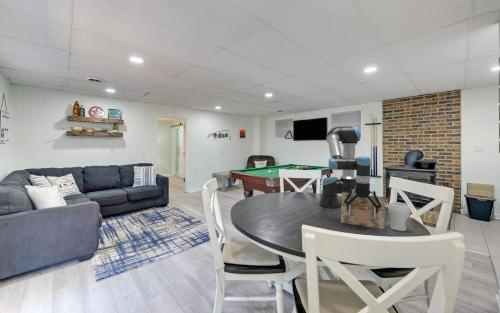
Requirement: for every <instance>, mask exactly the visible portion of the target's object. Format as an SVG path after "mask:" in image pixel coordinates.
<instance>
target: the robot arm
mask: <svg viewBox="0 0 500 313" xmlns="http://www.w3.org/2000/svg"><path fill="white" fill-rule="evenodd" d="M325 138H326V143H327V144H328V149H329V155H330V158H329V159H328V169H329V170H333V171H342V175H341V176H340V178H338V177H336V176H329V177H324V178H323V179H322V183H321V185H322V187H321V190H322V191H321V192H322V193H321V199H320V201H319V205H320V206H321V207H322V208H326V209H338V208H340V202H339V198H338V194H340V195H342V192H344V193H349V194H348V196H347V197H346V199H345V201H344V203H345V204H347V210H349V216H350V205H351V204H350V203H351V202H352V201H353V200H354V199H356V198H357V197H360V198H362V197H363V198H366V197H367V198H368V199H369V200H370V202H371V203H372V204H373V205H374V206H375V207H374V219H375V217H376V213H378V208H381V207H382V206H381V204H380V202H379V200H378V198H377V196H378V195H377V192H376V191H375V190H373V191H371V190H370V189H371V188H370V187H371V183H370V182H371V168H372V166H371V165H372V160H371V157H370V156H357V157H355V156H356V146H357V145H358V142H360V141H361V130H360V128H359V127H358V126H351V125H350V126H335V127H333V128H331V129H330V130H329V131H328V132H327V133H326V136H325ZM340 142H341V143H340ZM341 145H342V147H341ZM341 148H343V149H341ZM355 171H356V172H355ZM355 173H356V174H355ZM352 193H354V194H356V195H355V196H354V197H353V198H352V199H350V200H349V201H348V202H347V200H348V199H349V197H350V196H351V194H352ZM369 195H374V197H375V199H376V201H377V203H378V205H377V204H376V203H375V202H374V201H373V200H372V199H371V197H370V196H369Z"/></svg>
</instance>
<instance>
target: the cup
mask: <svg viewBox="0 0 500 313" xmlns="http://www.w3.org/2000/svg"><path fill="white" fill-rule="evenodd" d="M387 210H388V211H387V212H388V213H389V217H390V219H391V223H390V229H392V230H394V231H398V232H399V231H400V232H404V231H407V227H406V222H407V219H408V218H409V216H410V213H411V209H410V205H409V204H407V203H404V202H399V201H398V202H397V201H392V202H389V204H388V208H387Z"/></svg>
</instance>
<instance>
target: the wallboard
mask: <svg viewBox="0 0 500 313" xmlns="http://www.w3.org/2000/svg"><path fill="white" fill-rule="evenodd" d="M348 194H349V193H344V192H342V194H341V204H340V223H341V224H342V223H343V224H348V225H354V226H355V225H356V226H360V225H361V226H362V227H368V228H375V229H379V230H380V229H381V230H384V229H385V210H386V209H385V198H386V197H385V196H383V195H376V196H377V198H378V200H379V202H380V204H381V206H382V207H381V208H378V213H376V217H375V219H374V207H375V206H374V205H373V204H372V203H371V202H370V200H369V199H368V198H367V197H366V198H363V197H362V198H360V197H357V198H356V199H354V200H353V201H352V202H351V203H350V204H351V205H350V216H349V210H347V204H345V203H344V201H345V199H346V197H347V196H348ZM355 195H356V194H354V193H352V194H351V196H350V197H349V199H348V200H347V202H348V201H349V200H350V199H352V198H353V197H354V196H355ZM369 196H370V197H371V199H372V200H373V201H374V202H375V203H376V204H377V205H378V203H377V201H376V199H375V197H374V195H372V194H369ZM358 203H364V204H367V207H368V221H367V224H364V223H357V222H356V209H357V206H358Z"/></svg>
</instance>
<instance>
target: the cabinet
mask: <svg viewBox="0 0 500 313" xmlns="http://www.w3.org/2000/svg"><path fill="white" fill-rule="evenodd" d="M367 221H368V207H367V204H364V203H358V206H357V209H356V222H357V223H364V224H367Z"/></svg>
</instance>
